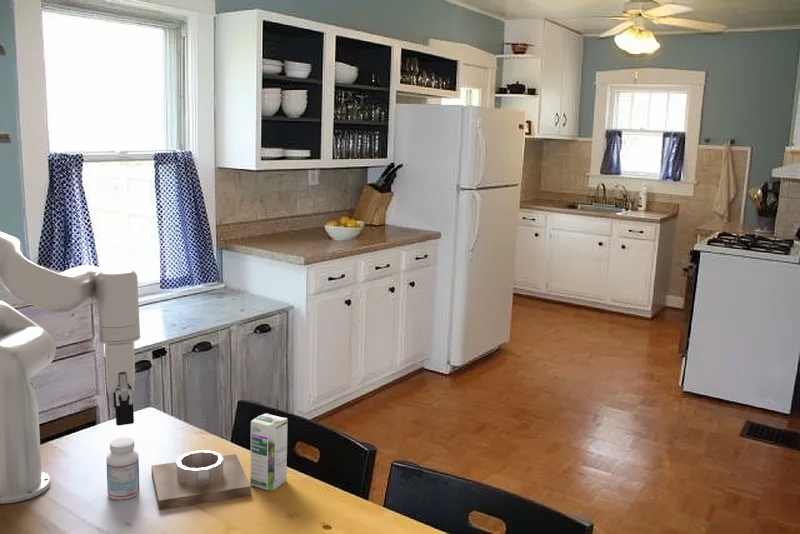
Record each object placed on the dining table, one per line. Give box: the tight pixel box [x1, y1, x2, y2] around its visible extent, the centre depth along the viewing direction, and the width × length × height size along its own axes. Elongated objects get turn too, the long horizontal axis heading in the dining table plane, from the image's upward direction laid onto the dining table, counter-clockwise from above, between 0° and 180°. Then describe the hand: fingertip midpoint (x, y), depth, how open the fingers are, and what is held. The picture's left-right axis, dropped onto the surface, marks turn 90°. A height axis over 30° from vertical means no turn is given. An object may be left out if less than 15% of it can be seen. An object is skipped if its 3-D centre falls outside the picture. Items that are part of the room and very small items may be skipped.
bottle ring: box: [175, 449, 223, 486], centre depth 152 cm, size 9×9×4 cm
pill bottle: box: [105, 437, 141, 501], centre depth 146 cm, size 6×6×11 cm
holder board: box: [151, 453, 252, 511], centre depth 152 cm, size 18×16×2 cm
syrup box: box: [249, 413, 288, 492], centre depth 153 cm, size 6×6×14 cm
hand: (123, 415), depth 144 cm, fingers open, 9 cm apart
